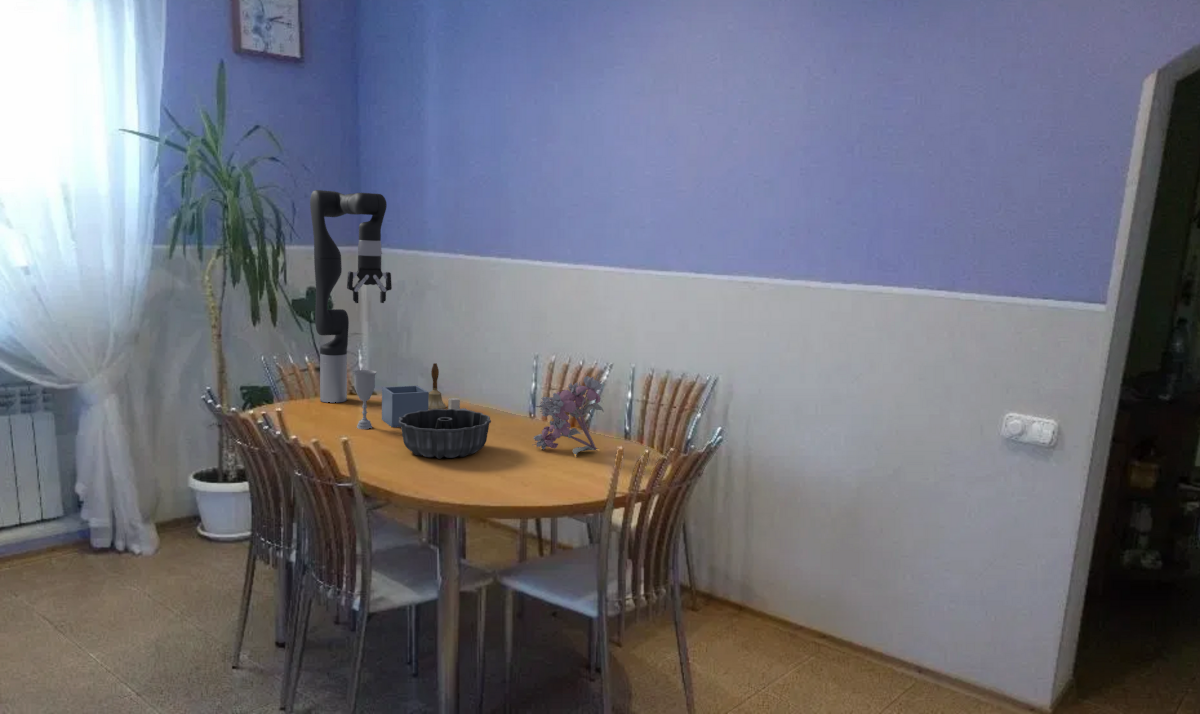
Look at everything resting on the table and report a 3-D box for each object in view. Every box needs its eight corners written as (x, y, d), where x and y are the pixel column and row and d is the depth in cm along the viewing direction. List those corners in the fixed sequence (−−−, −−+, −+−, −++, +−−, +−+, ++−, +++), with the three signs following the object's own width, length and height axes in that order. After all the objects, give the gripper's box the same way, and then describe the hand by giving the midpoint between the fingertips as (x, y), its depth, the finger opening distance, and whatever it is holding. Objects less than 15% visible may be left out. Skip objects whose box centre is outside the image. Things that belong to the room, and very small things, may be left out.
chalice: (379, 425, 276) (379, 370, 274) (371, 430, 270) (372, 374, 267) (357, 424, 277) (357, 369, 274) (349, 429, 270) (349, 372, 268)
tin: (381, 419, 285) (382, 387, 283) (416, 417, 291) (417, 385, 289) (391, 427, 275) (392, 394, 273) (428, 424, 281) (428, 392, 279)
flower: (578, 432, 273) (550, 365, 264) (629, 440, 257) (601, 368, 248) (535, 469, 261) (504, 399, 252) (586, 479, 245) (555, 405, 236)
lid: (429, 417, 294) (429, 396, 293) (465, 414, 300) (465, 394, 299) (441, 425, 283) (442, 403, 281) (478, 422, 289) (479, 401, 288)
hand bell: (446, 409, 305) (447, 365, 303) (423, 409, 303) (423, 365, 301) (445, 404, 313) (446, 361, 311) (422, 404, 311) (423, 361, 309)
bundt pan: (406, 466, 232) (406, 430, 231) (391, 442, 257) (391, 410, 255) (500, 461, 242) (501, 426, 241) (477, 438, 266) (478, 407, 265)
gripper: (387, 254, 290) (387, 301, 293) (345, 253, 283) (345, 302, 286) (394, 255, 284) (393, 304, 286) (350, 254, 277) (350, 304, 279)
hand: (369, 303), depth 286 cm, fingers open, 8 cm apart
